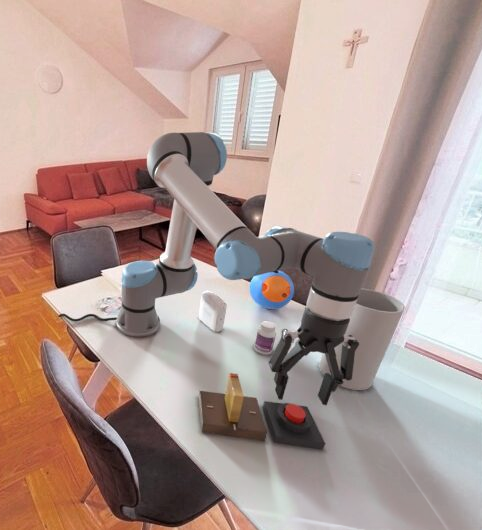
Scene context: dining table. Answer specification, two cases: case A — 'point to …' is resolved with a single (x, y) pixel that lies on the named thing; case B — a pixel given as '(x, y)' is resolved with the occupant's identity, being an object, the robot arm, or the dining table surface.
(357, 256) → the robot arm
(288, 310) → the dining table surface
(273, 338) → the pill bottle
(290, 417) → the button
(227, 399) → the lock handle
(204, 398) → the panel
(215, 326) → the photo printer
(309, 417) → the button box
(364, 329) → the cylinder vase
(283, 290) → the treat dispenser ball
